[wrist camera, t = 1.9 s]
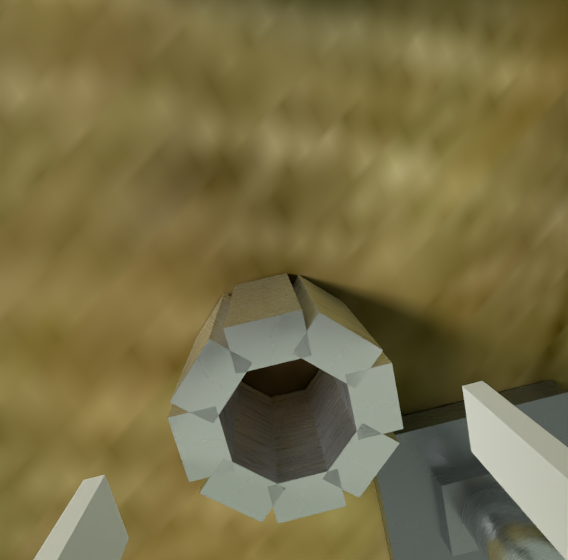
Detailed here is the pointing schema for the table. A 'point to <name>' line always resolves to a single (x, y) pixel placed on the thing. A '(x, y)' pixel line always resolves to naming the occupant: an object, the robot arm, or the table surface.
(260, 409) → the ring
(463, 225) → the table surface
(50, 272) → the table surface
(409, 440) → the shaft block
